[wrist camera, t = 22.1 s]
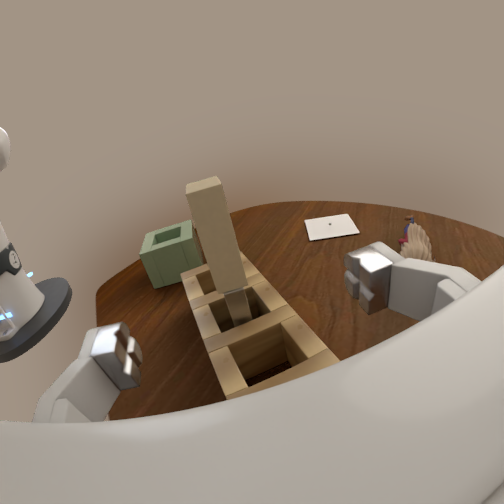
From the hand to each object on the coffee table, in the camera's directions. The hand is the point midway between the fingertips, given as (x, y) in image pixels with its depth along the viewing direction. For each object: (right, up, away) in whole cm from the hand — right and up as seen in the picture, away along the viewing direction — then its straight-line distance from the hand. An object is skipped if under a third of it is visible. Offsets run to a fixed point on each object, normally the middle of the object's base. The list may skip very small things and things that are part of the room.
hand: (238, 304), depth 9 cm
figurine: (+22, +1, +23) cm, 32 cm away
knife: (0, -7, +17) cm, 18 cm away
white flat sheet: (+13, +6, +35) cm, 38 cm away
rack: (0, -7, +17) cm, 18 cm away
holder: (-11, -1, +34) cm, 35 cm away
